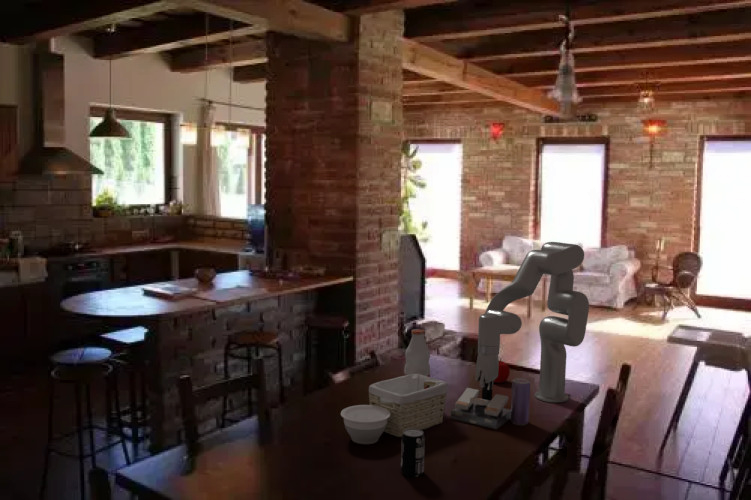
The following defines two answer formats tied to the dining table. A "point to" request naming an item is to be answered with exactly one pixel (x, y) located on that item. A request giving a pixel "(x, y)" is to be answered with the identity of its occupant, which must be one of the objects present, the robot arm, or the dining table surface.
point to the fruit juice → (417, 355)
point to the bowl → (365, 422)
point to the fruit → (502, 372)
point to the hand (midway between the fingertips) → (486, 399)
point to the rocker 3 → (496, 405)
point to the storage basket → (410, 402)
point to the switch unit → (481, 416)
